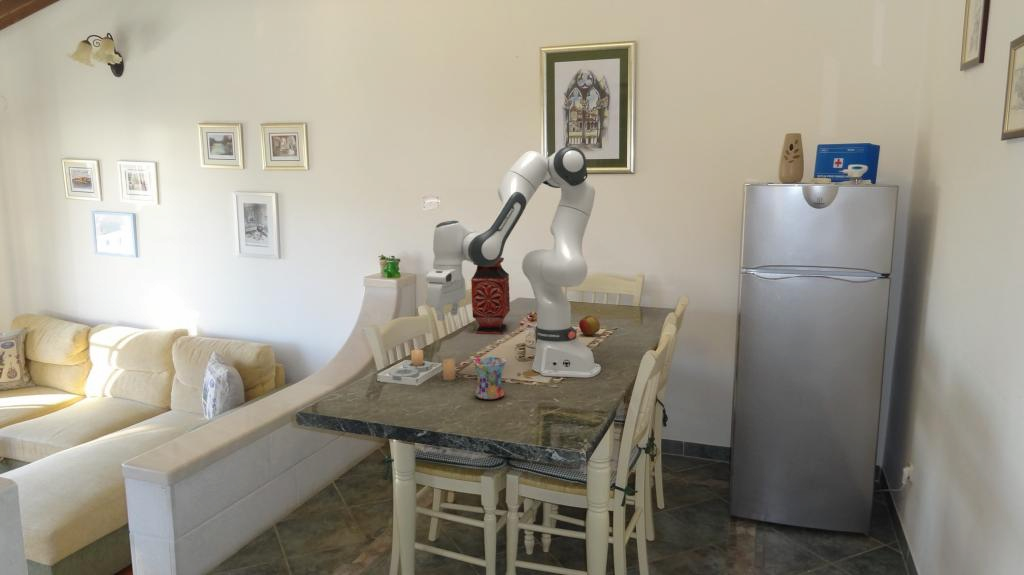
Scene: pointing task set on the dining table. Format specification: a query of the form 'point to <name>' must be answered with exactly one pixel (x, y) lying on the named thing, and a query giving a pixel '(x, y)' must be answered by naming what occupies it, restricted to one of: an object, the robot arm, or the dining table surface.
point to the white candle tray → (411, 370)
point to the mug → (489, 377)
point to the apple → (589, 325)
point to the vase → (490, 298)
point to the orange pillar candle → (449, 369)
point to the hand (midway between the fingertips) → (447, 317)
